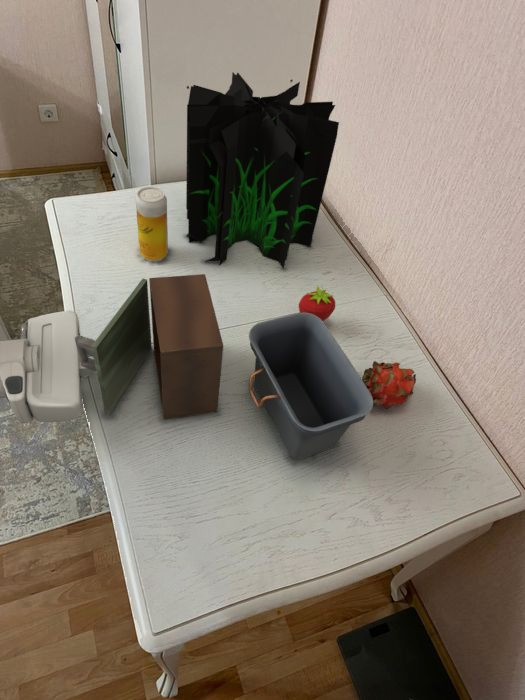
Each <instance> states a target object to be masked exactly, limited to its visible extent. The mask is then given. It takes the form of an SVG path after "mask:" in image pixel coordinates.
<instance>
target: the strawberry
mask: <svg viewBox="0 0 525 700" xmlns="http://www.w3.org/2000/svg"><path fill="white" fill-rule="evenodd" d="M321 287H322V289H321V288H320V286H319V285H317V286H316V290H315V291H311V292H306V293H305V294H304V295H303V296H302V297H301V298H300V300H299V302H298V311H299V313H310V314H313V315H315V316H317V317H319V318H320V319H321V320H322V321H323V322H324V321H325V320H328V319H329V318H330V317H331V315H332V314H333V313H334V312H335V309H336V300H335V298H334V295H332V294H330V293H328V292H326V291H327V289H324V287H323V285H322V284H321Z"/></svg>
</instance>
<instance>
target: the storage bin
mask: <svg viewBox="0 0 525 700" xmlns="http://www.w3.org/2000/svg"><path fill="white" fill-rule="evenodd" d="M248 339H249V345H250V349H251V350H252V352H253V355H254V356H255V363H254V365H255V366H254V372H253V373H252V374H251V376H250V379H249V393H250V396H251V398H252V400H253V402H254V403H255V405H256V407H257V408H260V407H261V406H262V405H263V407H264V408H265V410H266V412H267V413H268V416H269V417H270V420H271V423H272V424H273V425H274V427H275V429H276V432H277V434H278V435H279V438H280V439H281V442H282V443H283V445H284V447H285V449H286V451H287V453H288V455H289V457H290V458H291V460H293V461H299V460H302V459H305V458H308V457H311V456H313V455H317V454H319V453H322V452H324V451H327V450H330V449H333V448H335V447H336V446H337V445H338V443H339V442H340V440H341V439H342V438H343V436H344V435H345V434H346V432H347V430H348V429H349V427H350V426H351V425H354V424H356V423H360V422H361V421H363V420H364V419H365V418H366V417H367V415H368V414H370V413H371V411H372V410H373V408H374V404H373V398H372V395H371V393H370V392H369V390H368V389H367V387H366V386H365V384H364V382H363V381H362V377H361V376H360V374H359V372H358V371H357V369H356V368H355V367H354V365H353V363H352V362H351V360H350V359H349V358H348V356H347V354H346V353H345V352H344V350H343V349H342V347H341V345H340V343H338V341H337V340H336V338H335V336H334V335H333V334H332V332H331V331H330V330H329V327H327V325H326V324H325V322H324V321H322V320H321V319H320V318H319V317H317V316H315V315H313V314H310V313H300V312H297V313H292V314H288V315H284V316H280V317H276V318H273V319H268V320H264V321H260V322H257V323H255V324H254V325H253V326H252V327H251V328H250V330H249V333H248ZM253 388H254V389H255V392H256V393H257V395H258V396H259V399H260V401H259V400H258V399H257V397H256V396H255V393H254V389H253ZM258 401H259V402H258Z"/></svg>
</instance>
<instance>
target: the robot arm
mask: <svg viewBox="0 0 525 700" xmlns="http://www.w3.org/2000/svg"><path fill="white" fill-rule="evenodd" d="M78 315H79V314H78V313H77V312H75V311H72V310H62V311H57V312H51V313H46V314H41V315H39V316H36V317H31V318H28V319H27V320H26V321H25V322H24V323H23V324H22V325H21V326H20V336H19V339H18V338H17V339H8V340H0V399H5V398H6V400H7V402H8V405H10V408H11V410H12V412H13V414H14V416H15V419H17V421H18V423H20V424H28V423H31V422H33V420H36V421H37V422H40V423H61V422H69V421H74V420H77V419H79V418H80V417H81V416H82V415H83V414H84V400H83V399H84V397H83V396H84V395H83V378H84V377H90V376H92V375H93V374H95V373H97V372H96V371H93V370H90V369H88V368H85V367H82V366H81V363H80V359H79V355H78V351H77V347H76V343H75V337H76V336H79V335H80V336H81V324H80V320H79V316H78ZM86 352H87V356H88V357H93V358H94V356H93V351H90V350H87V349H86Z"/></svg>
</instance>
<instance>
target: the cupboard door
mask: <svg viewBox="0 0 525 700" xmlns="http://www.w3.org/2000/svg"><path fill="white" fill-rule="evenodd" d="M149 301H150V300H149V286H148V279H146V278H141V280H140V281H139V282H138V284H137V286H135V288H134V289H133V290H132V292H131V293H130V295H129V296H128V297H127V298H126V300H125V301H124V302H123V304H122V305H121V307H120V308H118V310H117V311H116V313H115V314H114V315H113V317H112V318H111V320H110V321H109V322H108V324H107V325H106V326H105V327H104V328H103V330H102V331H101V333H100V334H99V335H98V337H97V338H96V339H92V338H90V337H87V336H83V335H81V334H80V335H79V336H76V337H75V343H76V347H77V351H78V355H79V359H80V363H81V366H82V367H85V368H88V369H90V370H93V371H96V372H95V373H96V376H97V380H98V384H99V389H100V395H101V400H102V404H103V409H104V414H105V415H107V416H110V415H111V414H112V413H113V412H114V409H115V408H116V406H117V405H118V403H119V402H120V400H121V399H122V397H123V396H124V394H125V392H126V391H127V389H128V388H129V386H130V385H131V383H132V381H133V380H134V378H135V377H136V376H137V374H138V372H139V371H140V369H141V367H143V364H144V363H145V362H146V360H147V358H148V356H149V355H150V353H151V352H152V350H153V346H152V344H153V343H152V330H151V329H152V328H151V317H150V302H149ZM86 349H87V350H90V351H93V356H94V357H93V358H91V357H89V356H87V352H86Z"/></svg>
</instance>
